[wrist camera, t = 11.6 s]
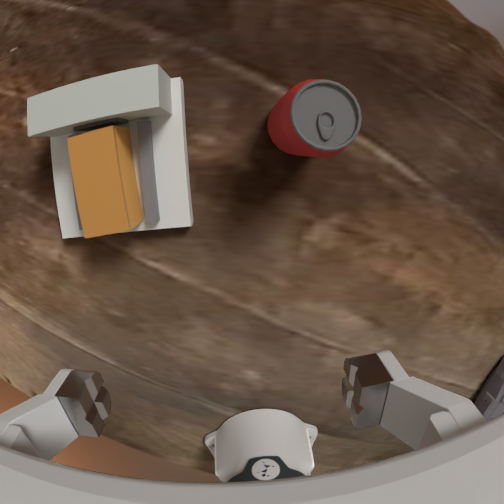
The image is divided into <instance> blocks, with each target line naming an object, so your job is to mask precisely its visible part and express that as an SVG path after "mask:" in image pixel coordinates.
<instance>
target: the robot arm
mask: <svg viewBox="0 0 504 504" xmlns="http://www.w3.org/2000/svg"><path fill="white" fill-rule="evenodd" d="M344 371H345V373H346V376H345V377H344V378H343V379H342V394H343V399H344V402H345V405H346V406H347V407H349V408H350V414H349V415H350V418H351V420H352V423H353V425H354V428H355V429H357V428H362V427H367V426H372V425H377V424H380V426H382V427H383V428H385V429H386V430H388V431H389V432H390V433H392V434H393V435H395V436H396V437H397V438H399V439H400V440H402V441H403V442H405V443H406V444H408V445H409V446H411V447H412V448H413V449H415V450H414V451H411V452H408V453H405V454H402V455H398V456H395V457H392V458H388V459H384V460H381V461H377V462H373V463H369V464H365V465H361V466H356V467H352V468H347V469H342V470H337V471H332V472H326V473H320V474H314V475H310V472H311V471H312V470H313V467H314V460H313V454H312V449H311V447H312V445H313V443H314V441H315V439H316V436H317V434H318V431H317V427H315V426H313V425H310V424H306V423H303V422H302V421H301V420H300V419H298V418H297V417H296V416H294V415H293V414H291V413H288V412H285V411H281V410H276V409H256V410H250V411H246V412H242V413H239V414H237V415H235V416H233V417H231V418H229V419H228V420H226V421H225V422H224V423H223V424H222V425H221V426H220V428H219V429H218V430H216V431H214V432H212V433H210V434H208V435H206V436H205V444H206V446H207V447H208V449H209V450H210V452H211V453H212V455H213V456H214V458H215V474H216V476H218V477H219V479H220V481H222V482H177V481H164V480H152V479H142V478H133V477H125V476H118V475H112V474H106V473H101V472H95V471H90V470H85V469H80V468H76V467H71V466H67V465H63V464H59V463H55V462H51V461H50V460H51V459H52V458H53V457H54V456H55V455H57V454H58V453H59V452H60V451H61V450H63V449H64V448H65V447H66V446H68V445H69V444H70V443H71V442H72V441H74V440H75V439H76V438H77V437H78V435H81V436H89V437H99V436H100V434H101V432H102V429H103V427H104V422H103V419H105V418H106V417H108V416H109V413H110V411H111V398H110V395H109V392H108V391H107V390H106V389H105V388H104V387H103V386H102V385H103V382H104V380H103V378H102V376H101V374H100V373H99V372H97V371H85V370H73V369H61V370H60V371H59V372H58V374H57V375H56V376H55V378H54V379H53V380H52V382H51V383H50V385H49V386H48V387H47V389H46V390H45V391H44V393H43V394H38V395H36V396H34V397H33V398H31V399H29V400H27V401H25V402H23V403H21V404H19V405H17V406H15V407H13V408H11V409H10V410H8V411H6V412H4V413H2V414H0V504H504V413H503V414H501V415H499V416H497V417H495V418H493V419H491V420H489V421H486V419H485V418H484V417H483V415H482V414H481V413H480V412H479V410H478V409H477V408H476V406H475V405H474V404H473V403H472V401H471V400H469V399H467V398H464V397H462V396H459V395H457V394H454V393H452V392H449V391H447V390H444V389H442V388H439V387H437V386H435V385H432V384H430V383H427V382H425V381H422V380H420V379H418V378H415V377H409V376H408V375H407V374H406V372H405V371H404V369H403V368H402V366H401V365H400V364H399V362H398V361H397V359H396V358H395V357H394V355H393V354H392V353H391V351H389V350H385V351H381V352H376V353H374V354H369V355H363V356H357V357H352V358H346V359H345V362H344Z"/></svg>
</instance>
